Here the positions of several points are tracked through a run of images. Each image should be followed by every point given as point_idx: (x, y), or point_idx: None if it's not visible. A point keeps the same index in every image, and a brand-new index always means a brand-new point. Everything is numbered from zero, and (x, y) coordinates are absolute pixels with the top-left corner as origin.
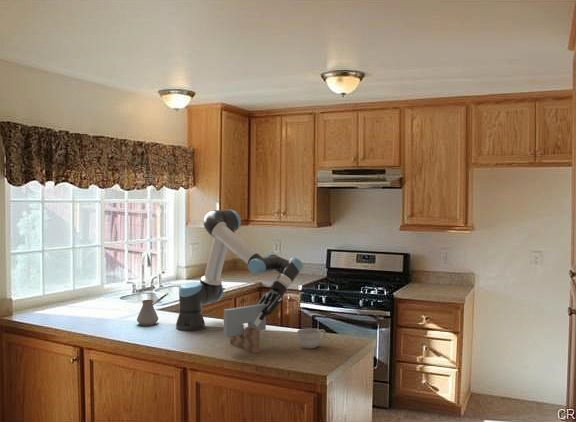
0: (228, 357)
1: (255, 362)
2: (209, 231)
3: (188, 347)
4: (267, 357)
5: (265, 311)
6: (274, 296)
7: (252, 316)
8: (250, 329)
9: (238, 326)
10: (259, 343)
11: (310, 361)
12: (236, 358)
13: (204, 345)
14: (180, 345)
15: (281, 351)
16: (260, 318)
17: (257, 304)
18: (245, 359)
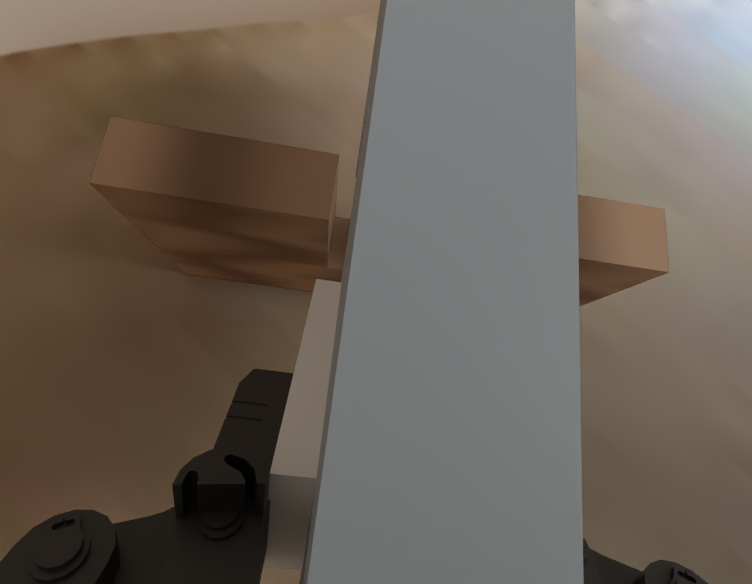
0: (274, 55)
1: (35, 82)
2: None
3: (626, 52)
4: (34, 218)
5: (172, 565)
6: None
7: (350, 229)
8: (219, 135)
9: (372, 63)
10: (159, 248)
11: None
12: (214, 69)
13: (608, 137)
14: (692, 52)
15: (36, 428)
16: (250, 373)
17: (565, 520)
18: (146, 89)
